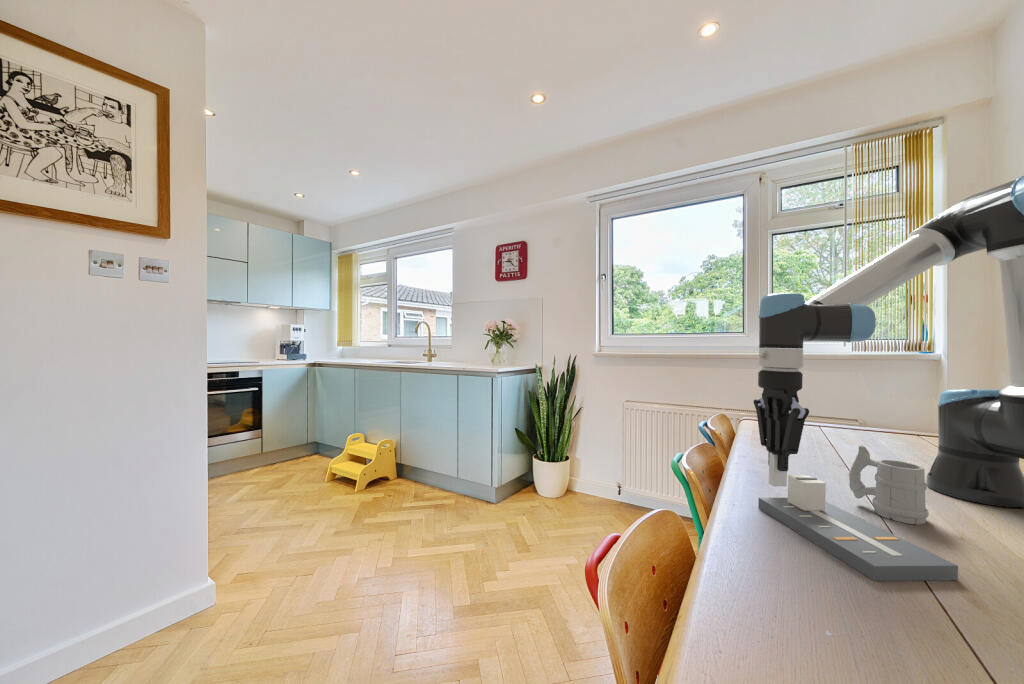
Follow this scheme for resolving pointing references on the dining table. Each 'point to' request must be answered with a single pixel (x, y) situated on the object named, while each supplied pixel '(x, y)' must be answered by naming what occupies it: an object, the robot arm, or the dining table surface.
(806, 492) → the fader tab
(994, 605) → the dining table surface
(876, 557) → the console
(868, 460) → the mug
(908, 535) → the dining table surface
